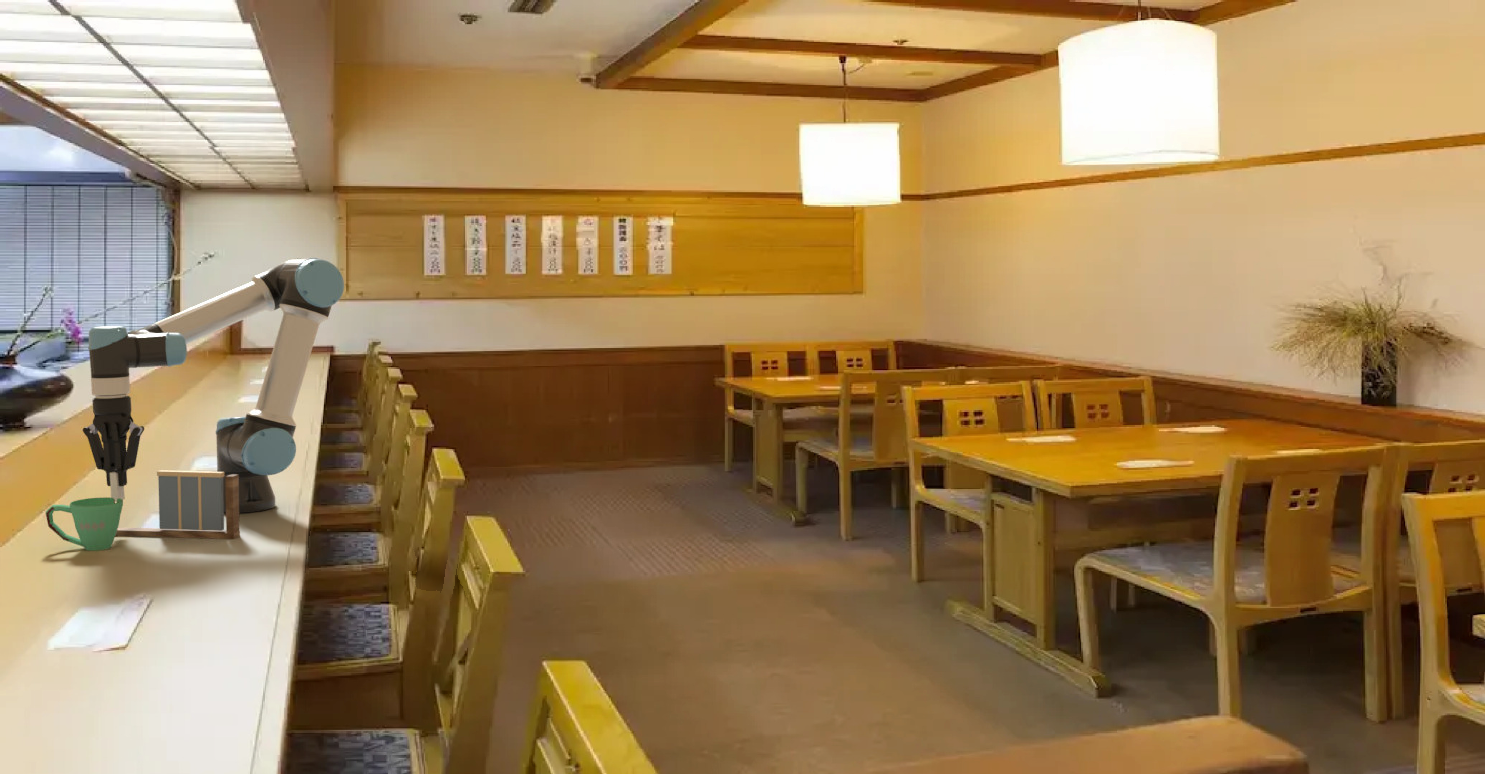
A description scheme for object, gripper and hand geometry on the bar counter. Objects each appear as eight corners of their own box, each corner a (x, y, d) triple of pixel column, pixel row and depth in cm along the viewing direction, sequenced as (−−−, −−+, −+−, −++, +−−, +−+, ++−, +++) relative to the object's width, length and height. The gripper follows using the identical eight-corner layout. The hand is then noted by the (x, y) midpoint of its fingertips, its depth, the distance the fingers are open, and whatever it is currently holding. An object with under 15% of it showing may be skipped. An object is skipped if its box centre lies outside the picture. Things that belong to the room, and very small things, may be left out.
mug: (129, 542, 252) (128, 496, 251) (116, 552, 243) (115, 505, 242) (54, 544, 249) (53, 498, 248) (38, 555, 239) (37, 507, 238)
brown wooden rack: (239, 536, 260) (238, 474, 259) (234, 538, 258) (233, 476, 256) (104, 532, 261) (102, 470, 260) (97, 535, 258) (95, 472, 257)
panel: (225, 529, 260) (224, 471, 259) (221, 530, 258) (220, 473, 257) (162, 527, 260) (160, 470, 259) (158, 529, 259) (156, 471, 257)
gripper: (149, 394, 261) (155, 497, 264) (92, 393, 261) (99, 496, 264) (130, 398, 254) (137, 503, 256) (72, 397, 254) (79, 503, 257)
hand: (118, 500), depth 260 cm, fingers closed
